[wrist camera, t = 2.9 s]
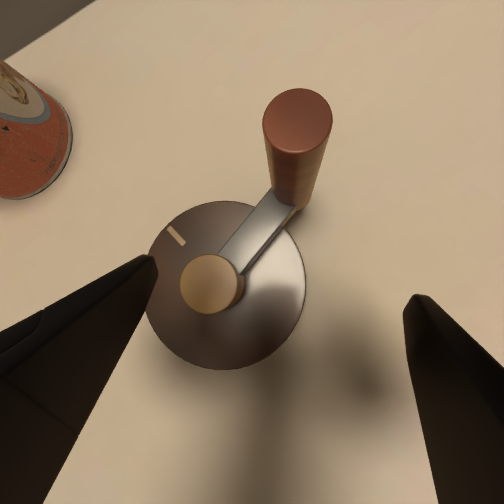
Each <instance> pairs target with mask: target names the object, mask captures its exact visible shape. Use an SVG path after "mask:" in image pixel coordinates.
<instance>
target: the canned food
mask: <svg viewBox="0 0 504 504" xmlns="http://www.w3.org/2000/svg"><path fill="white" fill-rule="evenodd" d="M71 142H72V131H71V125H70V121H69V118H68V115H67V113H66V111H65V110H64V108H63V107H62V106H61V104H60V103H59V102H58V101H57V100H55V99H54V98H53V97H51V96H50V95H48V94H46V93H45V92H43V91H42V90H41V89H39V88H38V87H37V86H35V85H34V84H33V83H32V82H30V81H29V80H28V79H26V78H25V77H24V76H22V75H21V74H20V73H19V72H17V71H16V70H15V69H13V68H12V67H11V66H9V65H8V64H7V63H6V62H4V61H3V60H2V59H0V198H4V199H13V200H15V199H23V198H27V197H30V196H33V195H35V194H37V193H39V192H40V191H42V190H44V189H45V188H46V187H47V186H49V185H50V184H51V183H52V182H53V181H54V180H55V179H56V178H57V176H58V175H59V174H60V172H61V171H62V169H63V167H64V165H65V163H66V161H67V159H68V156H69V153H70V148H71Z"/></svg>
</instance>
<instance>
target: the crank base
mask: <svg viewBox="0 0 504 504" xmlns="http://www.w3.org/2000/svg"><path fill="white" fill-rule="evenodd" d="M254 208H255V207H254V206H251V205H248V204H245V203H240V202H234V201H215V202H210V203H204V204H201V205H198V206H195V207H193V208H191V209H189V210H187V211H185V212H183V213H182V214H180V215H179V216H177V217H176V218H175V219H173V220H172V221H171V222H170V223H169V224H168V225H167V226H166V227H165V228H164V229H163V230H162V231H161V232H160V234H159V235H158V237H157V238H156V239H155V241H154V243H153V245H152V246H151V248H150V250H149V253H148V255H151V256H153V257H154V258H155V261H156V264H157V268H158V271H159V276H158V279H157V282H156V284H155V287H154V289H153V292H152V294H151V297H150V299H149V302H148V304H147V307H146V309H145V311H146V314H147V317H148V320H149V322H150V324H151V326H152V328H153V330H154V331H155V333H156V334H157V336H158V337H159V339H160V340H161V341H162V342H163V343H164V344H165V345H166V346H167V348H169V349H170V350H171V351H172V352H173V353H175V354H176V355H177V356H179V357H180V358H182V359H184V360H185V361H188V362H190V363H192V364H194V365H197V366H200V367H203V368H208V369H214V370H232V369H239V368H243V367H247V366H250V365H252V364H255V363H257V362H259V361H261V360H263V359H265V358H266V357H268V356H270V355H271V354H272V353H273V352H275V351H276V350H277V349H278V348H279V347H280V346H281V345H282V344H283V343H284V342H285V341H286V340H287V338H288V337H289V336H290V334H291V333H292V331H293V330H294V328H295V326H296V324H297V322H298V320H299V318H300V315H301V312H302V310H303V305H304V301H305V294H306V275H305V269H304V264H303V260H302V257H301V254H300V252H299V250H298V247H297V245H296V243H295V242H294V240H293V239H292V237H291V235H290V234H289V233H288V231H287V230H286V229H285V228H284V227H282V229H281V230H280V231H279V232H278V234H277V235H276V236H275V237H274V238H273V240H272V241H271V242H270V243H269V245H268V246H267V247H266V248H265V249H264V251H263V252H262V253H261V254H260V256H259V257H258V258H257V259H256V260H255V262H254V263H253V264H252V265H251V266H250V268H249V269H248V270H247V271H246V273H245V274H244V275H243V276H244V282H245V284H244V290H243V293H242V295H241V297H240V298H239V300H238V301H237V302H236V303H235V304H234V305H232V306H230V307H228V308H226V309H224V310H222V311H220V312H218V313H214V314H203V313H200V312H197V311H195V310H193V309H192V308H191V307H190V306H189V305H188V304H187V303H186V302H185V300H184V299H183V296H182V294H181V290H180V279H181V275H182V272H183V270H184V268H185V267H186V265H187V264H188V263H189V262H190V261H191V260H192V259H194V258H196V257H198V256H200V255H204V254H215V255H216V254H217V253H218V252H219V251H220V250H221V248H222V247H223V246H224V245H225V243H226V242H227V241H228V240H229V239H230V237H231V236H232V235H233V234H234V233H235V231H236V230H237V229H238V228H239V226H240V225H241V224H242V223H243V222H244V220H245V219H246V218H247V217H248V215H249V214H250V213H251V212H252V211H253V209H254Z"/></svg>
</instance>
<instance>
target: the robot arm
mask: <svg viewBox="0 0 504 504" xmlns="http://www.w3.org/2000/svg"><path fill="white" fill-rule="evenodd" d="M158 276H159V271H158V268H157V264H156V261H155V258H154V257H153V256H151V255H144V254H143V255H140V256H138V257H136V258H135V259H133V260H131V261H129V262H127V263H125V264H124V265H122V266H120V267H118V268H116V269H115V270H113V271H111V272H109V273H107V274H106V275H104V276H102V277H100V278H98V279H97V280H95V281H93V282H91V283H89V284H87V285H86V286H84V287H82V288H80V289H78V290H77V291H75V292H73V293H71V294H69V295H68V296H66V297H64V298H62V299H60V300H59V301H57V302H55V303H53V304H51V305H49V306H48V307H46V308H44V310H40V311H39V312H37V313H35V314H33V315H31V316H29V317H28V318H26V319H24V320H22V321H20V322H18V323H16V324H14V325H13V326H11V327H9V328H7V329H5V330H3V331H1V332H0V504H43V502H44V500H45V498H46V497H47V495H48V493H49V491H50V489H51V487H52V485H53V483H54V482H55V480H56V478H57V476H58V474H59V472H60V470H61V468H62V466H63V465H64V463H65V461H66V459H67V457H68V455H69V453H70V451H71V450H72V448H73V446H74V444H75V442H76V440H77V438H78V435H79V434H80V432H81V430H82V429H83V427H84V425H85V423H86V421H87V419H88V417H89V415H90V414H91V412H92V410H93V408H94V406H95V404H96V402H97V400H98V398H99V397H100V395H101V393H102V391H103V389H104V387H105V385H106V383H107V382H108V380H109V378H110V376H111V374H112V372H113V370H114V368H115V367H116V365H117V363H118V361H119V359H120V357H121V355H122V353H123V351H124V350H125V348H126V346H127V344H128V342H129V340H130V338H131V336H132V335H133V333H134V331H135V329H136V327H137V325H138V323H139V321H140V320H141V318H142V316H143V314H144V311H145V309H146V307H147V304H148V302H149V299H150V297H151V294H152V292H153V289H154V287H155V284H156V282H157V279H158ZM403 324H404V335H405V345H406V355H407V362H408V367H409V372H410V376H411V381H412V385H413V390H414V394H415V399H416V403H417V408H418V412H419V417H420V422H421V426H422V431H423V435H424V440H425V444H426V449H427V453H428V458H429V462H430V467H431V471H432V476H433V481H434V485H435V490H436V494H437V499H438V503H439V504H504V367H503V366H502V365H501V364H500V363H498V362H497V361H496V360H495V359H494V358H493V357H492V356H491V355H490V354H489V353H488V352H487V351H486V350H485V349H484V348H483V347H482V346H481V345H480V344H479V343H478V342H477V341H475V340H474V339H473V338H472V337H471V336H470V335H469V334H468V333H467V332H466V331H465V330H464V329H463V328H462V327H461V326H460V325H459V324H458V323H457V322H456V321H455V320H454V319H452V318H451V317H450V316H449V315H448V314H447V313H446V312H445V311H444V310H443V309H442V308H441V307H440V306H439V305H438V304H437V303H436V302H435V301H434V300H433V299H432V298H430V297H429V296H427V295H420V294H414V295H413V296H412V297H411V298H410V300H409V302H408V303H407V305H406V307H405V308H404V311H403Z"/></svg>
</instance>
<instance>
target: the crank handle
mask: <svg viewBox="0 0 504 504" xmlns="http://www.w3.org/2000/svg"><path fill="white" fill-rule="evenodd" d="M332 123H333V116H332V111H331V109H330V106H329V104H328V103H327V101H326V100H325V99H324V98H323V97H322V96H321V95H319V94H318V93H316V92H314V91H312V90H308V89H302V88H297V89H291V90H287V91H285V92H283V93H281V94H279V95H278V96H276V97H275V98H274V99H273V100H272V101H271V102H270V104H269V105H268V106H267V108H266V110H265V113H264V116H263V121H262V127H263V134H264V140H265V147H266V153H267V159H268V166H269V172H270V179H271V185H272V187H271V189H270V190H269V191H268V192H267V193H266V195H265V196H264V197H263V198H262V200H261V201H260V202H259V203H258V204H257V206H256V207H255V208H254V209H253V211H252V212H251V213H250V214H249V215H248V217H247V218H246V219H245V220H244V222H243V223H242V224H241V225H240V226H239V228H238V229H237V230H236V231H235V233H234V234H233V235H232V236H231V237H230V239H229V240H228V241H227V242H226V243H225V245H224V246H223V247H222V248H221V250H220V251H219V252H218V253H217V254H216V255H215V254H204V255H200V256H198V257H196V258H194V259H192V260H191V261H190V262H189V263H188V264H187V265H186V267H185V268H184V270H183V272H182V275H181V279H180V290H181V294H182V296H183V299H184V300H185V302H186V303H187V304H188V305H189V306H190V307H191V308H192V309H193V310H195V311H197V312H200V313H203V314H214V313H218V312H220V311H222V310H224V309H226V308H228V307H230V306H232V305H234V304H235V303H236V302H237V301H238V300H239V298H240V297H241V295H242V293H243V290H244V284H245V282H244V276H243V275H244V274H245V273H246V271H247V270H248V269H249V268H250V266H251V265H252V264H253V263H254V262H255V260H256V259H257V258H258V257H259V256H260V254H261V253H262V252H263V251H264V249H265V248H266V247H267V246H268V245H269V243H270V242H271V241H272V240H273V238H274V237H275V236H276V235H277V234H278V232H279V231H280V230H281V229H282V227H283V226H284V225H285V224H286V223H287V221H288V220H289V219H290V218H291V217H292V215H293V214H294V213H295V212H296V211H297V210H300V209H302V208H303V207H305V206H306V205H307V204H308V202H309V200H310V198H311V195H312V191H313V188H314V185H315V181H316V178H317V175H318V171H319V168H320V165H321V162H322V158H323V155H324V152H325V148H326V145H327V142H328V138H329V135H330V132H331V128H332Z"/></svg>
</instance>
